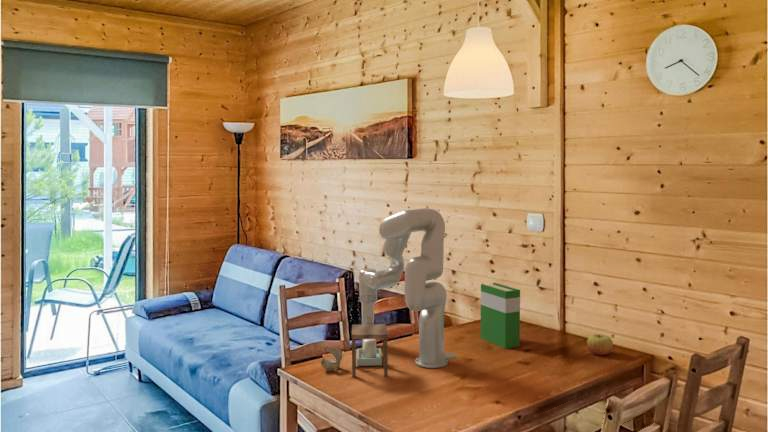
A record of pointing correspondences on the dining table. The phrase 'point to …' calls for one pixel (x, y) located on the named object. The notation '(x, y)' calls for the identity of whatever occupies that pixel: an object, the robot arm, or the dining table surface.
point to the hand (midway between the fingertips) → (368, 340)
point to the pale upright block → (369, 348)
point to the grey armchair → (368, 361)
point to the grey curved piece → (330, 363)
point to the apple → (599, 344)
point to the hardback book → (500, 315)
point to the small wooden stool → (369, 333)
